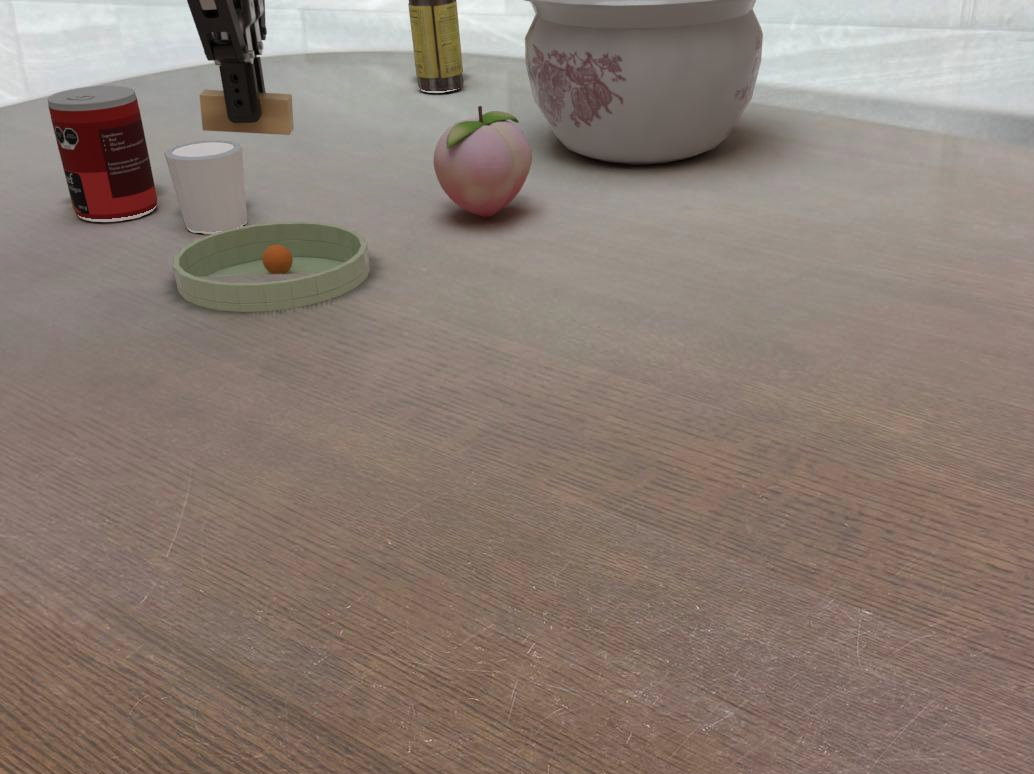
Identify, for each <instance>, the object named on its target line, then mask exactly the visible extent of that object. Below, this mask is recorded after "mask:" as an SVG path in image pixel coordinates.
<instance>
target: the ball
mask: <svg viewBox="0 0 1034 774" xmlns="http://www.w3.org/2000/svg"><path fill="white" fill-rule="evenodd" d="M292 262H293V259H292V255H291V253H290V251H289V250H288V249H287V248H286V247H284V246H281V245H272V246H270V247H268V248H267V249H266V250H265V252H264V254H263V265H264V267H265V268H266V270H267V271H269V272H270V273H272V274H271V275H286V274H285V273H286V272H288V271H289V270H290V268H291V266H292Z"/></svg>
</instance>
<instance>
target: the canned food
mask: <svg viewBox="0 0 1034 774" xmlns="http://www.w3.org/2000/svg"><path fill="white" fill-rule="evenodd" d="M47 107H48V112H49V115H50V120H51V124H52V128H53V129H52V130H53V132H54V136H55V141H56V144H57V149H58V153H59V156H60V160H61V164H62V169H63V173H64V177H65V182H66V184H67V189H68V192H69V197H70V201H71V205H72V209H73V211H74V213H75V215H76V216H77V215H79V216H81V217H85V218H91V219H112V218H121V217H128V216H133V215H137V214H140V213H144V212H146V211H149V210H151V209H153V208H154V207H155V206H156V205H157V206H158V193H157V189H156V185H155V180H154V175H153V170H152V164H151V159H150V155H149V150H148V149H149V148H148V144H147V140H146V139H147V138H146V135H145V129H144V124H143V120H142V115H141V108H140V107H139V102H138V97H137V95H136V91H135V89H133V88H131V87H128V86H122V85H96V86H94V85H93V86H85V87H77V88H70V89H66V90H61V91H59V92H56V93H53V94H51V95H50V96H48V98H47Z"/></svg>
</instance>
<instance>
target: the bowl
mask: <svg viewBox="0 0 1034 774" xmlns="http://www.w3.org/2000/svg"><path fill="white" fill-rule="evenodd" d="M272 245H281V246H284V247H286V248H287V249H288V250H289V251H290V253H291V255H292V259H293V262H292V266H291V268H290V270H289V271H288V272H286V273H285V274H284V275H295V274H296V275H297V274H308V275H303V276H299V277H298V276H297V277H294V278H289V279H288V278H287V279H282V280H281V279H280V280H272V281H262V282H260V281H259V282H231V281H218V280H217V281H216V280H211V279H207V278H203V277H221V276H223V277H225V276H259V275H260V276H261V275H273V274H272V273H270V272H269V271H267V270H266V268H265V267H264V265H263V254H264V252H265V250H266V249H267V248H268V247H270V246H272ZM370 266H371V265H370V257H369V249H368V243H367V241H366V239H365V236H364V235H362V234H361V233H359V232H358V231H356V230H354V229H351V228H349V227H346V226H343V225H338V224H331V223H326V222H317V221H316V222H315V221H278V222H277V221H275V222H274V221H273V222H266V223H265V222H264V223H257V224H250V225H245V226H243V227H239V228H233V229H229V230H225V231H222V232H218V233H215V234H207V235H206V236H204V237H201V238H199V239H196V240H194V241H192V242H190V243H189V244H187V245H185V246H184V247H182V248H180V250H179V251H177V253H176V254H175V255H174V257H173V258H172V268H173V269H172V270H173V274H174V279H175V283H176V288H177V293H178V294H179V295H180V296H181V297H182V298H183V299H184V300H185V301H187V302H189V303H190V304H193V305H195V306H198V307H201V308H206V309H207V308H208V309H210V310H214V311H225V312H238V313H251V312H273V311H279V310H280V311H281V310H289V309H296V308H301V307H305V306H310V305H314V304H320V303H322V302H325V301H328V300H331V299H335V298H338V297H340V296H342V295H344V294H346V293H348V292H350V291H352V290H353V289H355V288H358V287H359V286H360V285H361V284H362V283H363V282H364V281H366V280H367V278H368V276H369V274H370V272H371V267H370Z"/></svg>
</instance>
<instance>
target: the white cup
mask: <svg viewBox="0 0 1034 774" xmlns="http://www.w3.org/2000/svg"><path fill="white" fill-rule="evenodd" d="M243 155H244V154H243V147H242V145H241V144H240V143H238V142H235V141H232V140H231V141H230V140H218V139H217V140H201V141H195V142H194V141H193V142H188V143H184V144H180V145H175V146H173V147H170V148H169V149H167V150H166V151H165V152H164V156H165V160H166V163H167V168H168V171H169V174H170V178H171V181H172V185H173V189H174V192H175V194H176V195H175V196H176V198H177V202H178V205H179V208H180V212H181V215H182V219H183V222H184V226H185V225H186V226H185V228H186V227H187V228H189V229H191V230H194V231H205V232H210V231H211V232H216V231H225V230H229V229H233V228H237V227H240V226H241V225H242V224H245V222H246V221H247V222H248V211H247V196H246V185H245V170H244V169H245V168H244V156H243Z"/></svg>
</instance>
